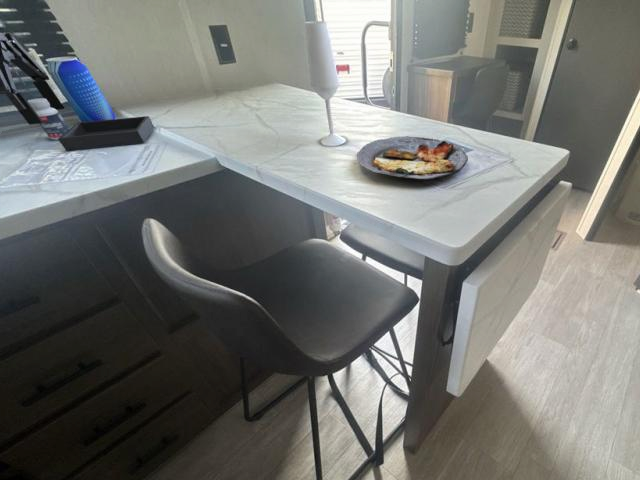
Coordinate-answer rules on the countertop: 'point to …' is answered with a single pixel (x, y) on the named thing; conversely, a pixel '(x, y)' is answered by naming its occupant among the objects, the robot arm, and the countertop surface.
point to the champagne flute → (323, 71)
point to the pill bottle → (49, 118)
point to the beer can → (79, 89)
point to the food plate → (412, 157)
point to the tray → (107, 133)
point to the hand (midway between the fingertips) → (48, 116)
